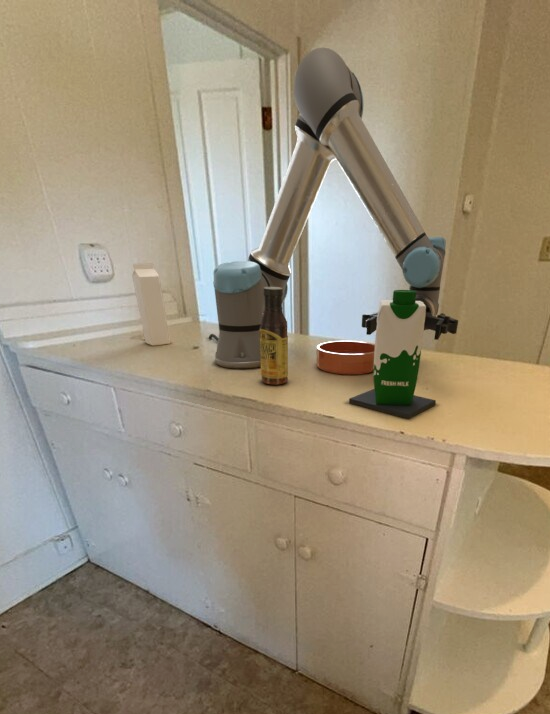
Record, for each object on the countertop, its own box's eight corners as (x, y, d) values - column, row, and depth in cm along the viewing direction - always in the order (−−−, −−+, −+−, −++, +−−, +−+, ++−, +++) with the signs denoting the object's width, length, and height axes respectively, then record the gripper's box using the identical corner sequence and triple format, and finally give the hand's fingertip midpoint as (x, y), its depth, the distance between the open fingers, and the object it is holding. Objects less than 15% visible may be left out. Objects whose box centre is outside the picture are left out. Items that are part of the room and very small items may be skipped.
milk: (145, 342, 136) (129, 263, 124) (163, 340, 139) (149, 262, 127) (152, 346, 132) (136, 263, 120) (171, 343, 135) (157, 263, 123)
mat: (348, 403, 88) (349, 398, 87) (378, 391, 95) (378, 386, 94) (408, 419, 80) (408, 414, 80) (435, 405, 87) (436, 400, 87)
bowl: (304, 367, 112) (303, 347, 109) (342, 356, 122) (342, 338, 120) (354, 379, 103) (355, 357, 100) (390, 366, 114) (392, 346, 111)
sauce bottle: (256, 382, 100) (249, 287, 89) (275, 377, 104) (271, 285, 93) (274, 388, 96) (270, 289, 85) (294, 382, 100) (292, 287, 89)
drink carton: (371, 405, 83) (380, 291, 73) (370, 392, 91) (378, 286, 80) (416, 407, 83) (432, 293, 72) (411, 393, 90) (425, 287, 80)
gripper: (468, 335, 100) (463, 354, 83) (364, 328, 106) (341, 344, 89) (474, 300, 96) (471, 312, 79) (366, 294, 102) (342, 305, 85)
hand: (402, 329), depth 84 cm, fingers open, 13 cm apart
